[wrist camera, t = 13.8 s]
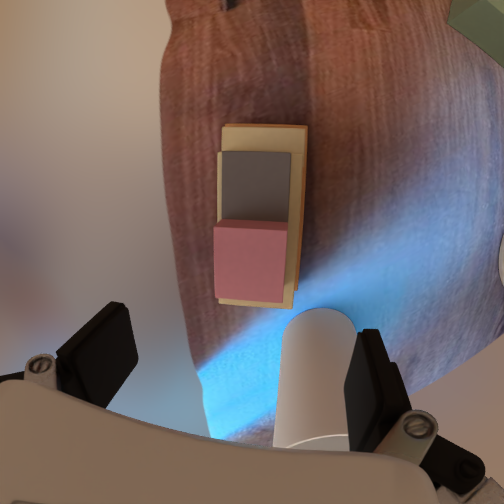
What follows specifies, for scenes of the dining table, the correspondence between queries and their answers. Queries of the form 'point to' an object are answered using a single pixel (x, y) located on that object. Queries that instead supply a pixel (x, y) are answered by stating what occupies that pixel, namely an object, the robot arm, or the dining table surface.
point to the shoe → (296, 144)
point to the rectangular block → (481, 24)
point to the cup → (314, 381)
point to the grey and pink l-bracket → (252, 226)
